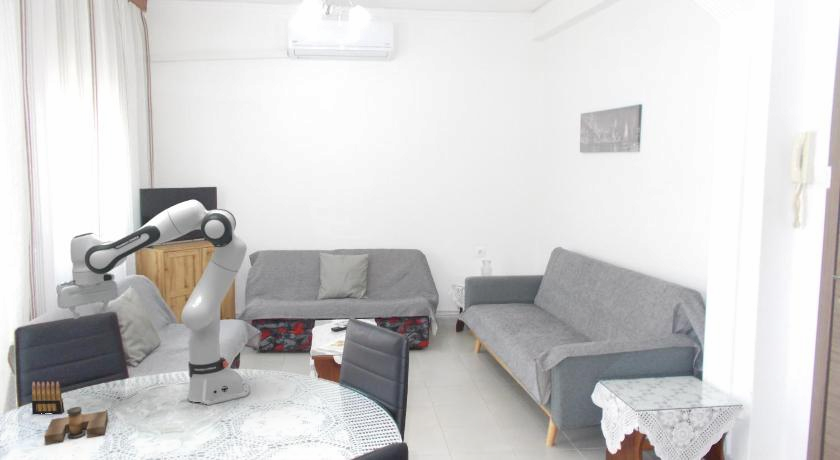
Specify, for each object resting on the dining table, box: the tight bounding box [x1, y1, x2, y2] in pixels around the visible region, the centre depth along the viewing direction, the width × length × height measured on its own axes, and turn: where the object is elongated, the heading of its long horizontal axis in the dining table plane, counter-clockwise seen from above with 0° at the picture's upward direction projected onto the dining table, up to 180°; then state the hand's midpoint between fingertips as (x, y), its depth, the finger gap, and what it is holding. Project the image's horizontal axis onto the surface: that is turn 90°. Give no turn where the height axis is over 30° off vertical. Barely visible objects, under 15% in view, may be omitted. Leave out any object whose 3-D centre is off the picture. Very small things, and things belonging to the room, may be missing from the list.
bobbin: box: [66, 406, 87, 440], centre depth 206 cm, size 5×5×9 cm
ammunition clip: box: [31, 380, 65, 415], centre depth 225 cm, size 11×2×12 cm, turn 88°
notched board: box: [44, 410, 109, 446], centre depth 210 cm, size 17×14×3 cm
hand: (90, 315), depth 228 cm, fingers open, 8 cm apart
